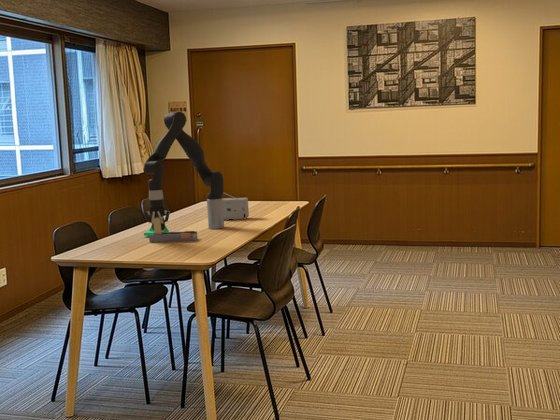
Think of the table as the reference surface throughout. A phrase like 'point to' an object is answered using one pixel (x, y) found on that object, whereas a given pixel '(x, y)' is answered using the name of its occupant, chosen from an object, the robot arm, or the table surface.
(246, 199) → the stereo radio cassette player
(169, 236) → the rail
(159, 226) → the tan upright block
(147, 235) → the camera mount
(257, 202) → the table surface
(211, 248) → the table surface
